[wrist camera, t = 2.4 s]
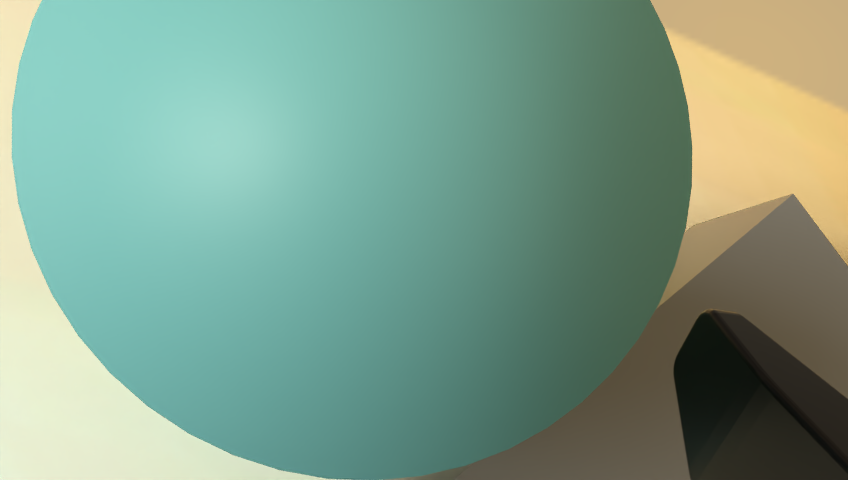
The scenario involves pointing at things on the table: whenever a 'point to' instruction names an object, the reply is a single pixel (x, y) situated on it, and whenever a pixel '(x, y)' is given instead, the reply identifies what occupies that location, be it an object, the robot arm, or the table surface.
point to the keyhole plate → (666, 332)
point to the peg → (354, 213)
